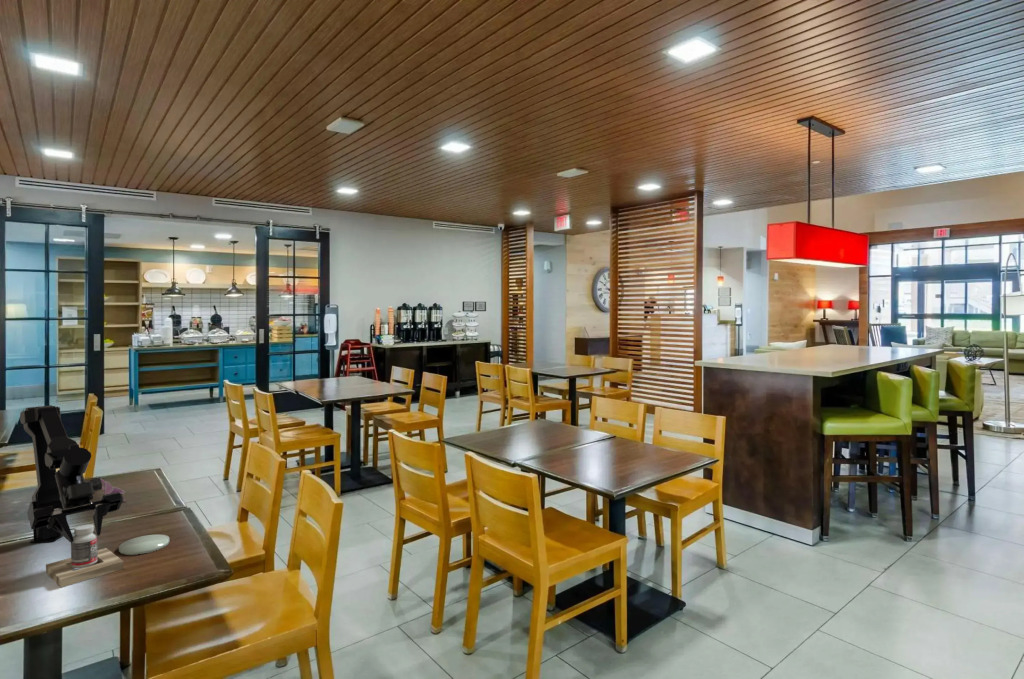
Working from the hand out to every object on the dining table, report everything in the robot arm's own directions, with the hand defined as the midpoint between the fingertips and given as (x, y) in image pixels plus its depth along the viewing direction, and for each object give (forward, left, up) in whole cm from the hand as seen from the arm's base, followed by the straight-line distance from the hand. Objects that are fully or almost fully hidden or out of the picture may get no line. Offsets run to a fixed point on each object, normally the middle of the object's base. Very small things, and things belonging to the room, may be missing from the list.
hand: (85, 538), depth 141 cm
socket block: (-1, +1, -9) cm, 9 cm away
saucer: (+7, +15, -9) cm, 19 cm away
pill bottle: (-1, +1, -7) cm, 7 cm away
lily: (-21, +57, -9) cm, 61 cm away
